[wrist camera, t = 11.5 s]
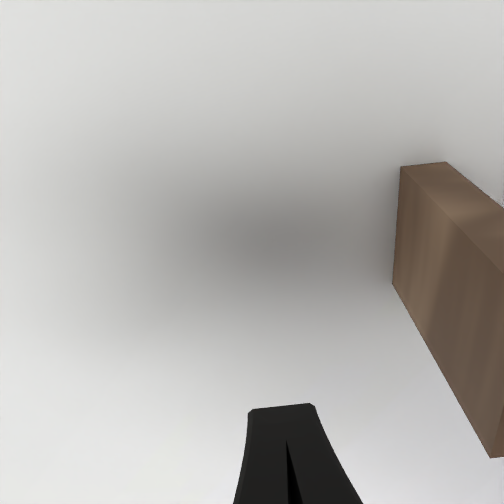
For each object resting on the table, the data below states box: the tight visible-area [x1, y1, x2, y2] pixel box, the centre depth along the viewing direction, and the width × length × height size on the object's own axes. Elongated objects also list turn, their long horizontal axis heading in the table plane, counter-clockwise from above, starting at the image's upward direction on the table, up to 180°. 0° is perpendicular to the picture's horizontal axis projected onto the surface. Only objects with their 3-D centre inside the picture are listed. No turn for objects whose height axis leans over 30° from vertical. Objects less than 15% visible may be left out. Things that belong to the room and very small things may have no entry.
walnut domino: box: [392, 162, 504, 458], centre depth 14 cm, size 2×5×8 cm, turn 5°
